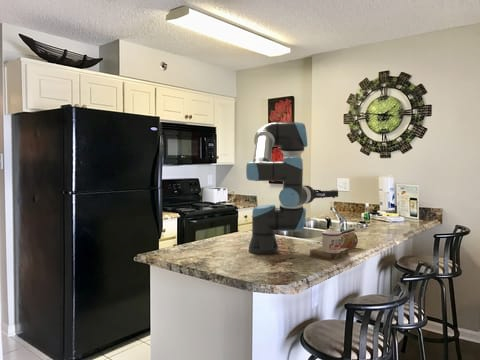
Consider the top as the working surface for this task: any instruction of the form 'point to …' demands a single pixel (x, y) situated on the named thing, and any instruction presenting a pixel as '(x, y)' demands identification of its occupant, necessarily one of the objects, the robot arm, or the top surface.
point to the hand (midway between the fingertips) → (322, 191)
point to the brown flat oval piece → (349, 240)
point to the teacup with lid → (332, 241)
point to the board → (328, 254)
